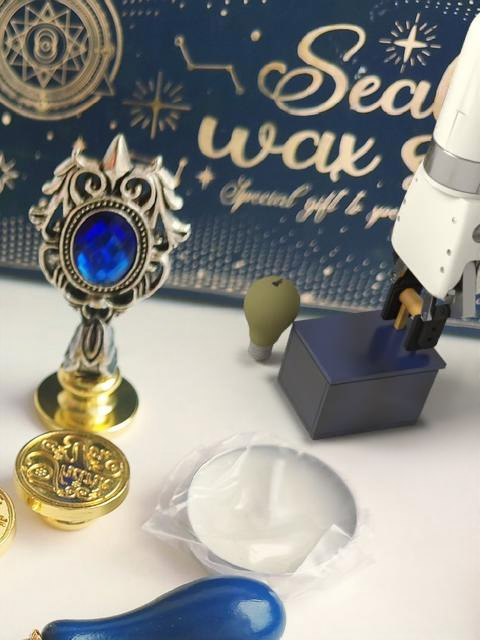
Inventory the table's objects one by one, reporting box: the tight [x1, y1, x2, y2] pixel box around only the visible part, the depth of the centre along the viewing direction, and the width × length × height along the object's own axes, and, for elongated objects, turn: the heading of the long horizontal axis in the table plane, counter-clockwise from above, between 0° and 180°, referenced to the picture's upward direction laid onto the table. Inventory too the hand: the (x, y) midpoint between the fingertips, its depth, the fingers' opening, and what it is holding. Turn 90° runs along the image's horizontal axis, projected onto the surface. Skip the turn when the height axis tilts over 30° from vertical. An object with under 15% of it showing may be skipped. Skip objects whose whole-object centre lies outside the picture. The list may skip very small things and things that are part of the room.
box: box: [276, 326, 440, 440], centre depth 108 cm, size 11×9×7 cm
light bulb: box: [243, 275, 301, 362], centre depth 112 cm, size 6×6×10 cm
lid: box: [291, 288, 448, 385], centre depth 104 cm, size 12×9×5 cm
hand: (407, 330), depth 105 cm, fingers closed on lid, 4 cm apart
